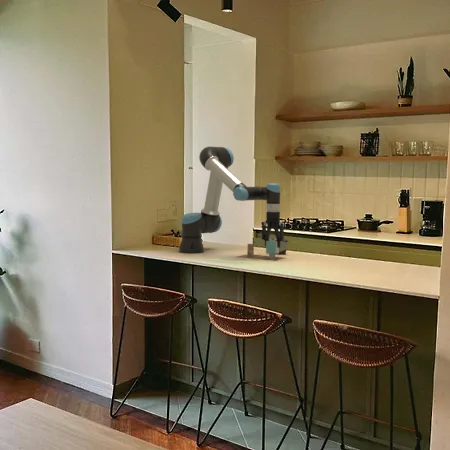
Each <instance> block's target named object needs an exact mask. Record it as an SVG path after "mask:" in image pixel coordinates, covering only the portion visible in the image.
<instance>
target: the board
mask: <svg viewBox="0 0 450 450" xmlns="http://www.w3.org/2000/svg"><path fill="white" fill-rule="evenodd" d="M236 258H242V259H243V258H244V259H252V260H262V261H272V262H276V261H281V260H284V259H286V257H282V256H275V259H269V255H263V254H254V256H252V257H250V256H247V254H242V255H239V256H236Z"/></svg>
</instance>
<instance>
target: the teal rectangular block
mask: <svg viewBox="0 0 450 450" xmlns="http://www.w3.org/2000/svg"><path fill="white" fill-rule="evenodd" d="M275 251H276V241H273V240H270V241H266V247H265V253H266V254H269V253H272V254H275Z"/></svg>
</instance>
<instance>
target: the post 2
mask: <svg viewBox="0 0 450 450" xmlns="http://www.w3.org/2000/svg"><path fill="white" fill-rule="evenodd" d="M268 256H269V259H275V257H276V255H275V254H272V253H268Z"/></svg>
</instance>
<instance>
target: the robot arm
mask: <svg viewBox="0 0 450 450" xmlns="http://www.w3.org/2000/svg"><path fill="white" fill-rule="evenodd" d="M198 158H199V162H200V164H201V165H202V166H203V168H205V170H206V171H210V173H209V179H208V185H207V190H206V196H205V202H204V207H203V208H202V209H201V210H200V212H189V213H185V214H183V215H182V217H181V219H182V220H181V242H180V244H179V247H178V252H179V253H184V254H200V253H204V252H205V247H204V244H203V241H202V235H203V234H213V233H216V232H218V231H219V230H220V229H221V228H222V224H223V222H222V221H223V220H222V217H221V215H220V212H219V211H218V210H219V207H220V201H221V195H222V189H223V184H224V185H225V187H227V188H228V189H229V190H230V191H231V192H232V195H233V197H234V198H233V199H235V200H236V201H239V202H240V201H241V202H244V201H266V202H265V203H266V207H265V208H266V209H265V210H266V213H265V214H266V215H265V217H266V218H265V221H261V240H263V241H264V248H266V241H268V240H269V238H270V235H271V231H272V229H273V231H274V235H275V238H276V239H277V241H276V251H275V254H278V253H279V248H280V242H281V241H283V240H284V237H285V232H284V231H285V229H284V228H285V223H284V222H282V221H281V220H280V219H281V212H280V211H281V185H280V183H267V184H266V186H259V185H258V186H247V185H246V184H244V183H243V182H242V181H241V180H240V179H239V178H238V177H237V176H236V175H235V174H234V173H232V172H231V171H230V170H229V168H230V167H231V166H232V165H233V163H234V160H235V159H234V158H235V157H234V153H233V152H232V150H231V149H230V148H229V147H224V146H206V147H204V148H203V149H202V150H200V152H199V157H198Z"/></svg>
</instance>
